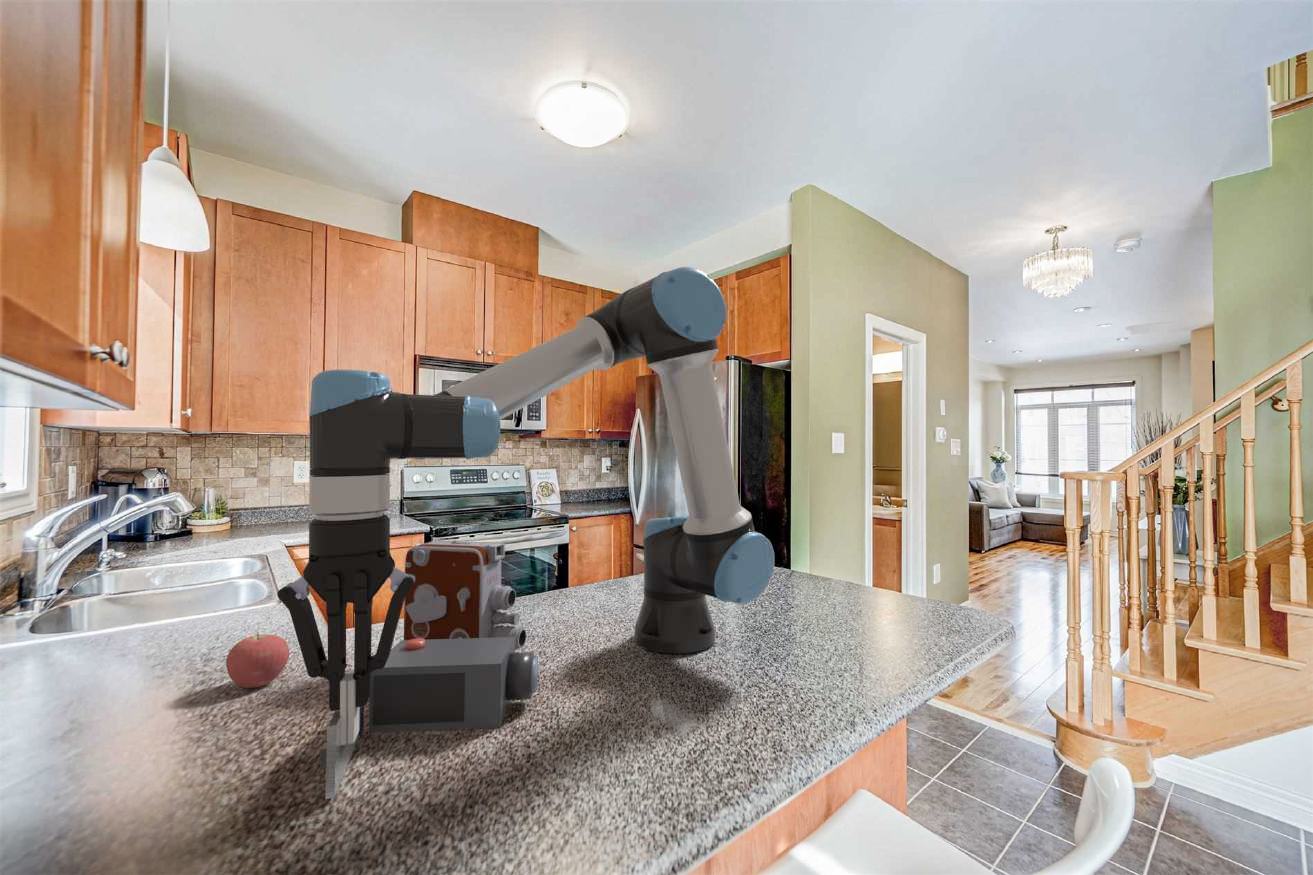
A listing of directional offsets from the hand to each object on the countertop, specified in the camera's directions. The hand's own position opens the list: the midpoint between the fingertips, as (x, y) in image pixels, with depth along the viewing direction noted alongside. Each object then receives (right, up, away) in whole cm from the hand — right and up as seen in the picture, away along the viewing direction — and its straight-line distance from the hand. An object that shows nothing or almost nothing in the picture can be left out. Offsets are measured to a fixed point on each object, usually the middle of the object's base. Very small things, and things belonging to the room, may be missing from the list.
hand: (349, 737), depth 56 cm
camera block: (+6, -5, +15) cm, 17 cm away
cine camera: (+1, -6, +32) cm, 32 cm away
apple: (-27, -6, +23) cm, 36 cm away
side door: (-2, -4, +2) cm, 5 cm away
